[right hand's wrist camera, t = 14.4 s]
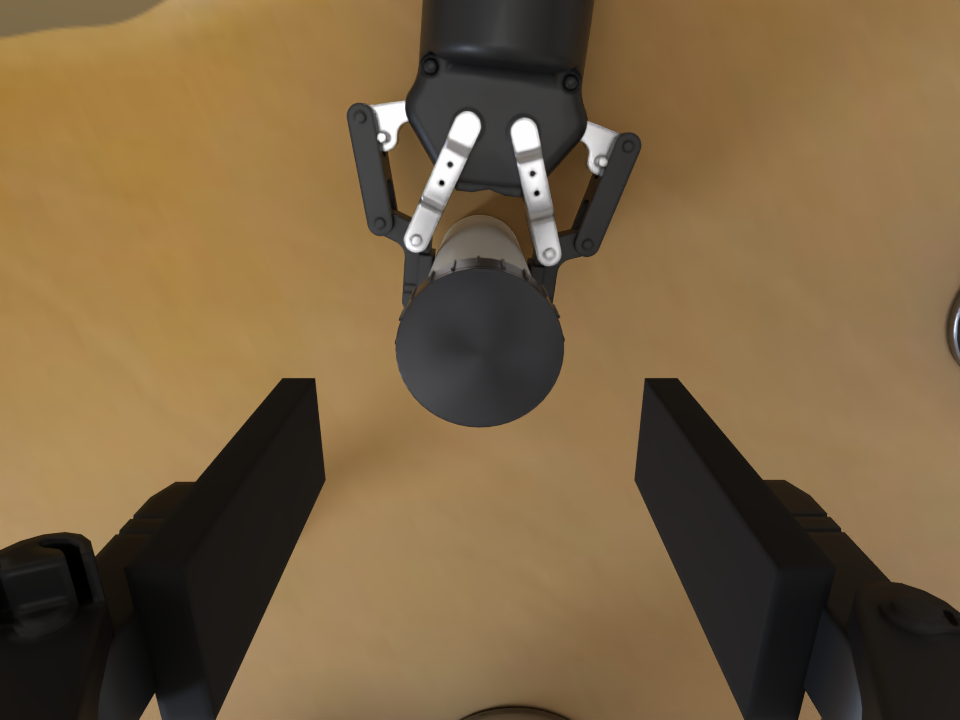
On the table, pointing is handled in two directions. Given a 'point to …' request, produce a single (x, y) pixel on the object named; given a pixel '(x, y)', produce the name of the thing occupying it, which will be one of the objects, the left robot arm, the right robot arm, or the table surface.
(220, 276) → the table surface
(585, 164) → the left robot arm
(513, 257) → the jar
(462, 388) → the lid
